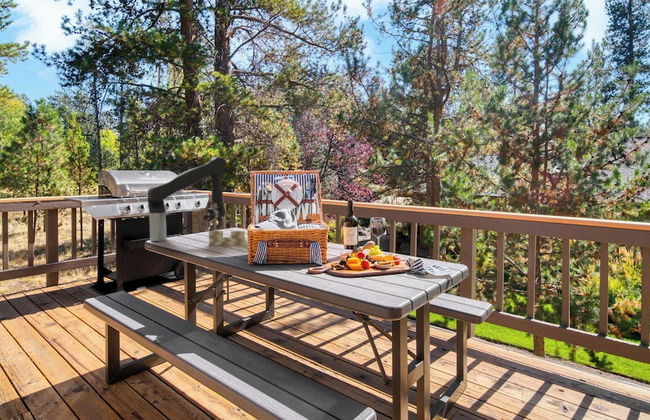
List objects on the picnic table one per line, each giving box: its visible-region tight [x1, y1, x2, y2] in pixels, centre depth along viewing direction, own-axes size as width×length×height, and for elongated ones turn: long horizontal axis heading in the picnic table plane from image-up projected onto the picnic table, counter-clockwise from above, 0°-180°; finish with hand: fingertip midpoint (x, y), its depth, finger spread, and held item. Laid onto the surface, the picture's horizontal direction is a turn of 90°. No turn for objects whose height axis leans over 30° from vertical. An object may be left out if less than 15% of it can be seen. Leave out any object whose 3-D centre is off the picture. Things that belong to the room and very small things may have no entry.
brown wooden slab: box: [191, 207, 208, 234], centre depth 240 cm, size 18×3×12 cm, turn 0°
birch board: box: [208, 230, 246, 246], centre depth 241 cm, size 20×2×8 cm, turn 89°
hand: (201, 217), depth 244 cm, fingers closed on brown wooden slab, 3 cm apart
